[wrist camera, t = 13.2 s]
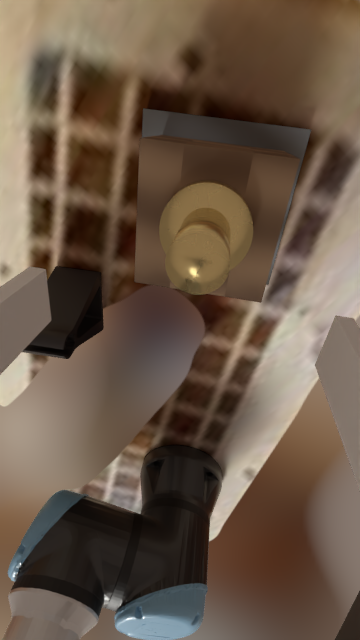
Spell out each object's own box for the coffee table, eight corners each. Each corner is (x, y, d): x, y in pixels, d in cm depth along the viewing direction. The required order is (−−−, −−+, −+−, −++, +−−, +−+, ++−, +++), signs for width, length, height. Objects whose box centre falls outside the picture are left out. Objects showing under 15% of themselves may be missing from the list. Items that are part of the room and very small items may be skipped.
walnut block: (267, 279, 40) (277, 324, 31) (139, 259, 41) (113, 297, 32) (308, 129, 31) (337, 130, 23) (146, 109, 32) (113, 102, 24)
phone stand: (103, 328, 47) (67, 384, 37) (63, 322, 48) (17, 376, 37) (101, 271, 42) (59, 317, 32) (57, 265, 43) (2, 308, 33)
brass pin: (240, 247, 36) (244, 326, 22) (173, 237, 36) (135, 308, 22) (255, 174, 32) (273, 212, 18) (180, 164, 32) (140, 193, 18)
